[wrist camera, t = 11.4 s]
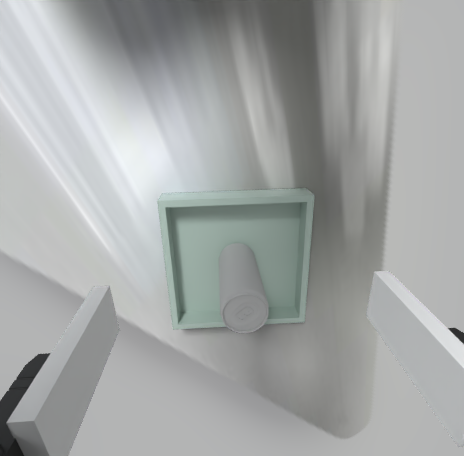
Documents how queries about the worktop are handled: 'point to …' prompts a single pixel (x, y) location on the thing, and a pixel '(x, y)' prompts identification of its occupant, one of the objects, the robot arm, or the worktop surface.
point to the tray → (228, 232)
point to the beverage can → (241, 290)
